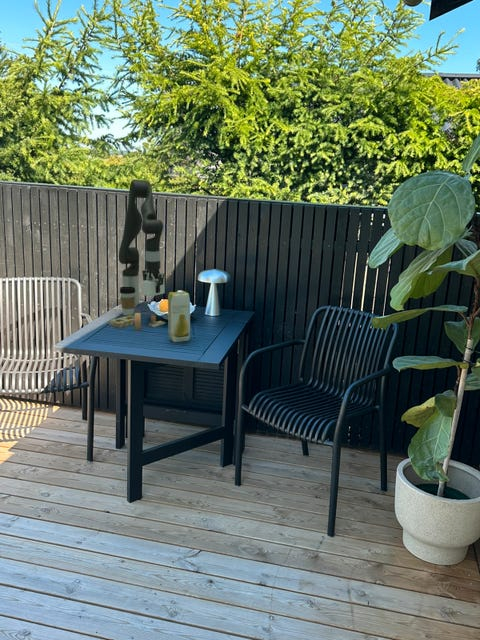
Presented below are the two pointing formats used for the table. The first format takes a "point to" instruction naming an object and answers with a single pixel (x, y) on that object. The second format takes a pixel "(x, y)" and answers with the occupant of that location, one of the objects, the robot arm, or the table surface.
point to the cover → (151, 288)
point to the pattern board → (153, 321)
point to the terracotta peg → (137, 321)
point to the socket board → (123, 321)
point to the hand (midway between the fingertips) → (153, 291)
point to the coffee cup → (127, 300)
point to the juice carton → (179, 316)
